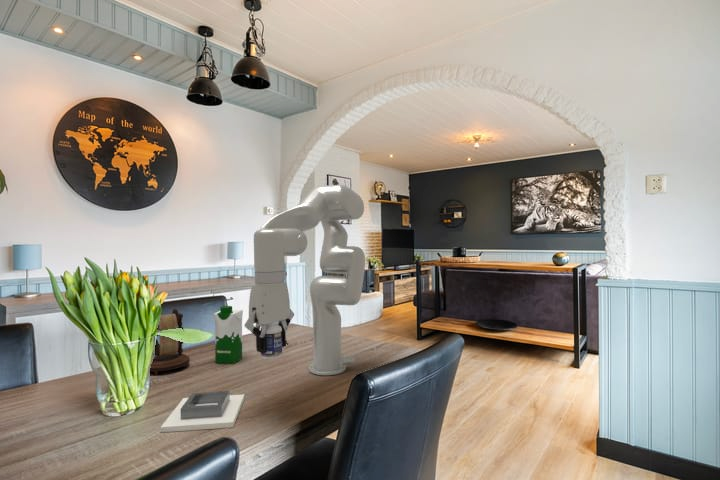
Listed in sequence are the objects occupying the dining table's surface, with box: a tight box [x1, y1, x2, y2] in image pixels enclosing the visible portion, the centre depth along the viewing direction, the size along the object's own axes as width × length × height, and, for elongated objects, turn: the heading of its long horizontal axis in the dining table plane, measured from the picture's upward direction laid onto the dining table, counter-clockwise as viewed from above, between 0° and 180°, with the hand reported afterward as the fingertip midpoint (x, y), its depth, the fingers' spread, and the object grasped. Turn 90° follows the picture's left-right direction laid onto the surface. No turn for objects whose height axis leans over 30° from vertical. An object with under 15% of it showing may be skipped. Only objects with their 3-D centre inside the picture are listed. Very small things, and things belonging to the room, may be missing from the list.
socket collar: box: [181, 390, 231, 419], centre depth 95 cm, size 9×9×2 cm
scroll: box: [149, 308, 191, 376], centre depth 129 cm, size 15×15×20 cm
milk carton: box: [213, 305, 244, 365], centre depth 137 cm, size 9×9×20 cm
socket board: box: [160, 393, 245, 433], centre depth 95 cm, size 16×16×1 cm
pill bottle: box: [260, 321, 283, 360], centre depth 96 cm, size 5×5×10 cm
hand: (271, 348), depth 96 cm, fingers closed on pill bottle, 5 cm apart
